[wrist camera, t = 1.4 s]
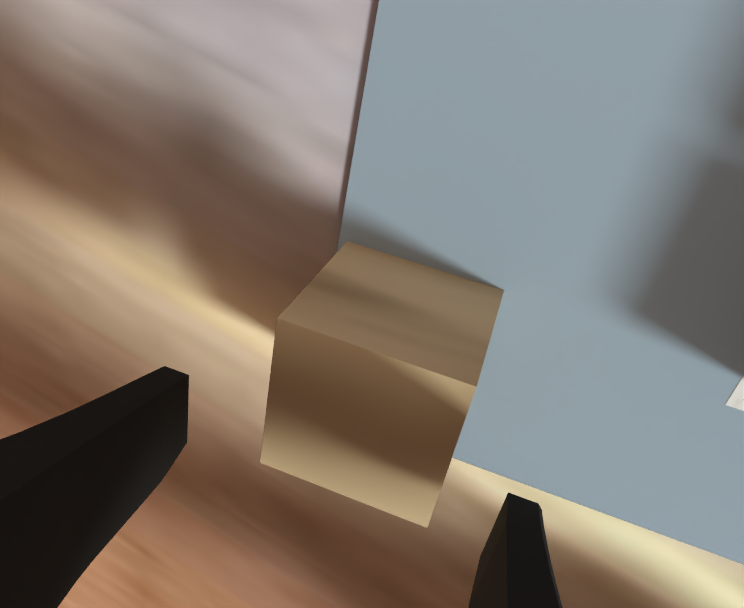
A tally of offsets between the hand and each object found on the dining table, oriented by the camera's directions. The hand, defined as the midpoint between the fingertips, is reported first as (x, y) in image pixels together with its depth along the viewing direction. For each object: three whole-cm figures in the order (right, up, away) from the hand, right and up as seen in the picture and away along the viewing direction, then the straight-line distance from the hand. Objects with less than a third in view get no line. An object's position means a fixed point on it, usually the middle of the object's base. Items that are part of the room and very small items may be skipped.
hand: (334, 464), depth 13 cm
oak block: (+2, +3, +5) cm, 6 cm away
